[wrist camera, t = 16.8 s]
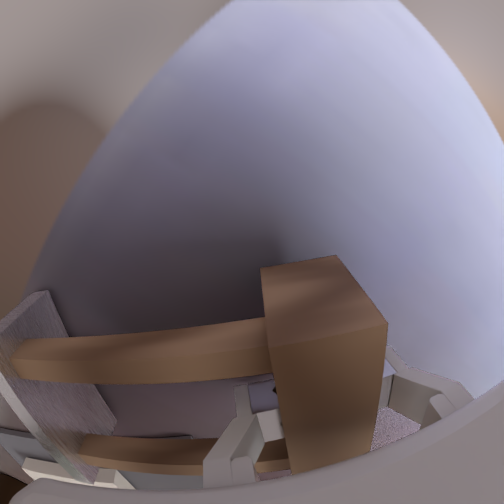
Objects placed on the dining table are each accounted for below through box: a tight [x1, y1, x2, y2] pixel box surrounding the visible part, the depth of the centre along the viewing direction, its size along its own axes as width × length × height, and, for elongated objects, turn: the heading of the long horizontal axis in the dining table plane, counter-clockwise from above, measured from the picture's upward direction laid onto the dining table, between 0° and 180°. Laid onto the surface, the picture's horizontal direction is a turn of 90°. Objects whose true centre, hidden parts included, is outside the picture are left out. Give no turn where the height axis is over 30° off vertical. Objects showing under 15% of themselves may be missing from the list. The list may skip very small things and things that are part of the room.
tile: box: [22, 457, 135, 489], centre depth 17 cm, size 2×8×10 cm
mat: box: [0, 428, 203, 490], centre depth 18 cm, size 20×14×1 cm
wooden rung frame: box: [0, 255, 388, 485], centre depth 11 cm, size 14×9×5 cm, turn 100°
